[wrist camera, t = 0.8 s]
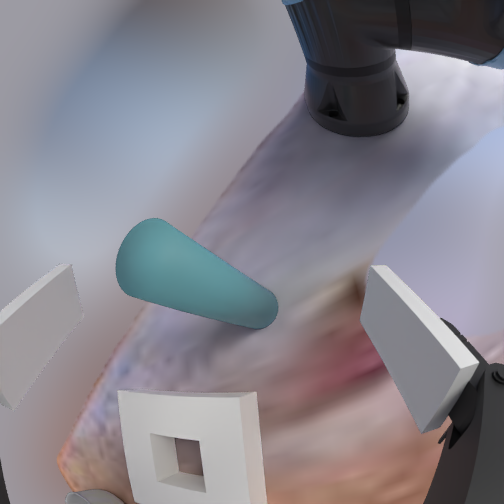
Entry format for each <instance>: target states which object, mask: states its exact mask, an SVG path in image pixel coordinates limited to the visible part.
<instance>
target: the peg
mask: <svg viewBox="0 0 504 504" xmlns="http://www.w3.org/2000/svg"><path fill="white" fill-rule="evenodd" d="M116 276H117V281H118V283H119V286H120V287H121V289H122V290H123V291H124V292H125V293H126V294H127V295H129V296H132V297H135V298H139V299H142V300H145V301H148V302H152V303H155V304H159V305H162V306H166V307H169V308H173V309H176V310H180V311H184V312H187V313H191V314H195V315H199V316H203V317H207V318H211V319H215V320H219V321H223V322H227V323H231V324H235V325H240V326H244V327H249V328H253V329H262V328H265V327H267V326H269V325H270V324H271V323H272V322H273V321H274V319H275V318H276V316H277V313H278V302H277V299H276V297H275V296H274V294H273V293H272V292H271V291H269V290H267V289H266V288H264V287H263V286H261V285H260V284H258V283H257V282H255V281H254V280H252V279H251V278H249V277H248V276H246V275H245V274H243V273H242V272H240V271H239V270H237V269H235V268H234V267H232V266H231V265H229V264H228V263H226V262H225V261H223V260H222V259H220V258H219V257H217V256H216V255H214V254H213V253H211V252H210V251H208V250H207V249H206V248H204V247H203V246H201V245H200V244H198V243H197V242H195V241H194V240H192V239H191V238H189V237H188V236H186V235H185V234H183V233H182V232H180V231H178V230H177V229H176V228H174V227H173V226H172V225H170V224H169V223H167V222H166V221H164V220H162V219H158V218H152V219H147V220H144V221H142V222H140V223H139V224H137V225H136V226H135V227H134V228H133V229H132V230H131V231H130V232H129V233H128V234H127V236H126V237H125V239H124V240H123V242H122V244H121V246H120V249H119V252H118V255H117V259H116Z"/></svg>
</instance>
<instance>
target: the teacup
mask: <svg viewBox="0 0 504 504" xmlns="http://www.w3.org/2000/svg"><path fill="white" fill-rule="evenodd" d="M65 503H66V504H125V503H124V502H123V501H122V500H120V499H119V498H117V497H116V496H115V495H113V494H112V493H110V492H108V491H105V490H100V489H92V490H85V491H79V492H69V493H68V494H67V496H66V499H65Z"/></svg>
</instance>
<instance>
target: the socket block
mask: <svg viewBox="0 0 504 504" xmlns="http://www.w3.org/2000/svg"><path fill="white" fill-rule="evenodd" d="M117 392H118V404H119V414H120V423H121V431H122V438H123V445H124V452H125V458H126V463H127V469H128V474H129V479H130V484H131V488H132V493H133V497H134V501H135V502H137V503H139V504H267V496H266V486H265V476H264V466H263V456H262V445H261V435H260V424H259V413H258V403H257V392H178V391H162V390H149V389H131V390H117ZM174 437H175V438H181V439H188V440H196V441H199V443H200V451H201V459H202V466H203V473H204V476H200V475H195V474H189V473H184V472H179V466H178V460H177V453H176V445H175V438H174Z"/></svg>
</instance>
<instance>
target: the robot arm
mask: <svg viewBox="0 0 504 504" xmlns="http://www.w3.org/2000/svg"><path fill="white" fill-rule="evenodd" d="M282 2H283V4H284V5H285V6H286V9H287V11H288V14H289V16H290V19H291V21H292V23H293V26H294V29H295V31H296V34H297V37H298V39H299V42H300V45H301V48H302V50H303V53H304V56H305V59H306V62H307V67H306V79H305V90H304V95H305V101H306V104H307V107H308V110H309V112H310V114H311V116H312V117H313V119H314V120H315V121H316V122H317V123H319V124H320V125H321V126H323V127H325V128H326V129H328V130H331V131H333V132H336V133H339V134H343V135H349V136H373V135H378V134H382V133H385V132H388V131H390V130H392V129H394V128H395V127H397V126H398V125H399V124H400V123H402V121H403V120H404V119H405V117H406V116H407V113H408V109H409V92H408V88H407V85H406V82H405V80H404V77H403V75H402V73H401V70H400V68H399V65H398V63H397V61H396V54H395V49H403V50H411V51H419V52H425V53H431V54H437V55H442V56H448V57H452V58H457V59H461V60H465V61H469V62H470V63H471V64H474V65H477V66H489V67H492V68H496V69H504V0H282ZM83 318H84V313H83V310H82V306H81V302H80V298H79V294H78V291H77V287H76V282H75V278H74V274H73V269H72V265H71V264H59V265H57V266H56V267H55V268H53V269H52V270H51V271H49V272H48V273H47V274H45V275H44V276H43V277H42V278H40V279H39V280H38V281H36V282H35V283H34V284H33V285H32V286H30V287H29V288H28V289H26V290H25V291H24V292H23V293H22V294H20V295H19V296H18V297H17V298H15V299H14V300H13V301H12V302H11V303H10V304H8V305H7V306H6V307H5V308H4V309H3V310H1V311H0V403H1V404H2V405H3V406H5V407H7V408H9V409H11V410H13V411H15V410H16V408H17V407H18V405H19V404H20V402H21V401H22V399H23V398H24V396H25V395H26V393H27V392H28V390H29V389H30V387H31V386H32V384H33V383H34V381H35V380H36V379H37V377H38V376H39V375H40V373H41V372H42V370H43V369H44V368H45V366H46V365H47V364H48V362H49V361H50V359H51V358H52V357H53V356H54V354H55V353H56V352H57V350H58V349H59V348H60V346H61V345H62V344H63V343H64V341H65V340H66V339H67V337H68V336H69V335H70V334H71V332H72V331H73V330H74V328H75V327H76V326H77V325H78V324H79V322H80V321H81V320H82V319H83ZM360 322H361V324H362V326H363V327H364V329H365V331H366V333H367V334H368V336H369V338H370V339H371V341H372V343H373V345H374V346H375V348H376V350H377V352H378V353H379V355H380V357H381V359H382V360H383V362H384V364H385V366H386V368H387V369H388V371H389V373H390V375H391V377H392V378H393V380H394V382H395V384H396V386H397V388H398V390H399V391H400V393H401V395H402V397H403V399H404V401H405V403H406V405H407V407H408V408H409V410H410V412H411V414H412V416H413V418H414V420H415V422H416V424H417V426H418V428H419V430H420V432H421V434H422V433H425V432H428V431H431V430H434V429H437V428H439V427H441V425H442V424H443V422H444V421H445V419H446V418H447V416H448V415H449V417H450V418H451V420H452V423H451V425H450V426H449V427H448V429H447V430H446V431H445V433H444V434H443V435H442V437H441V438H440V440H439V442H438V443H439V444H441V442H442V441H443V440H444V439H445V438H446V439H445V443H444V447H443V450H442V453H441V457H440V460H439V463H438V466H437V469H436V472H435V475H434V478H433V481H432V483H431V486H430V489H429V491H428V494H427V496H426V499H425V501H424V503H423V504H504V365H503V364H499V363H493V364H490V365H489V364H488V363H487V362H486V361H485V359H484V358H483V357H482V356H481V355H480V354H479V353H478V352H477V350H476V349H475V348H474V347H473V346H472V345H471V344H470V343H469V342H467V339H466V338H465V337H464V336H463V335H460V332H459V331H458V330H457V329H456V328H455V327H454V326H453V325H452V324H451V323H449V322H447V321H446V320H444V319H442V318H439V317H438V316H437V315H436V314H435V313H434V312H433V311H432V310H431V309H430V308H429V307H428V306H427V305H426V304H425V303H424V302H423V301H422V300H421V299H420V298H419V297H418V296H417V295H416V294H415V293H414V292H413V291H412V290H411V289H410V288H409V287H408V286H407V285H406V284H405V283H404V282H403V281H402V280H401V279H400V278H399V277H398V276H397V275H396V274H395V273H394V272H392V271H391V270H390V269H389V268H388V267H387V266H386V265H370V270H369V276H368V282H367V287H366V292H365V298H364V303H363V307H362V312H361V317H360ZM0 504H10V501H9V498H8V494H7V490H6V486H5V481H4V477H3V472H2V466H1V461H0Z"/></svg>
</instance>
